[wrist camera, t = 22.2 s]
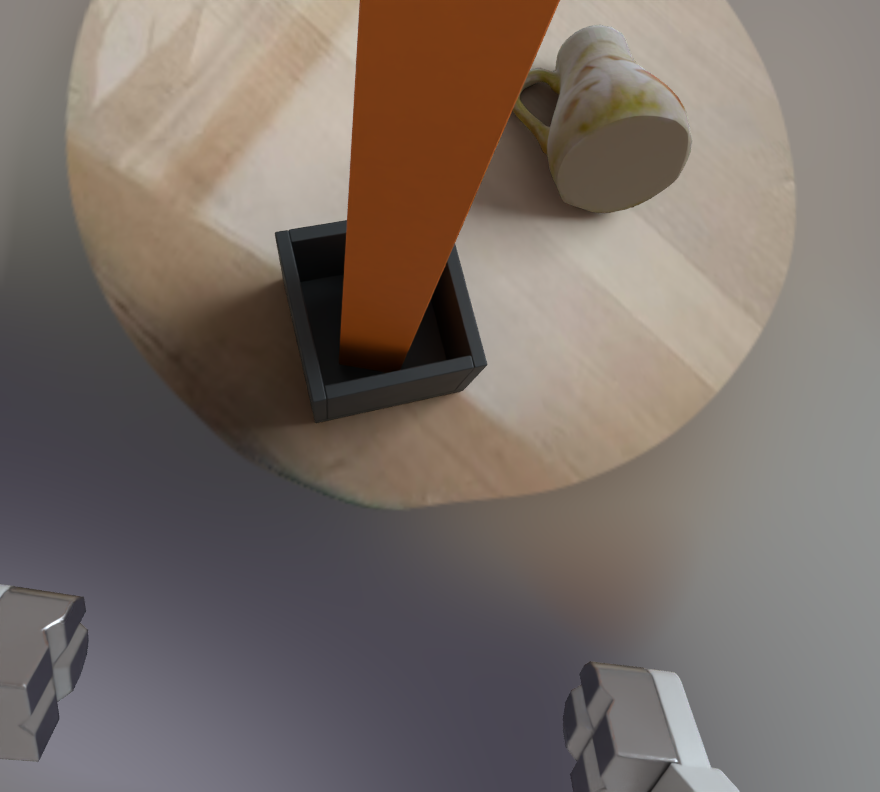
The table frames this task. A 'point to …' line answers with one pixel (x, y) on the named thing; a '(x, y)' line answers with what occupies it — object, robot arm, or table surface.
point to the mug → (608, 124)
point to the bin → (319, 326)
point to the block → (422, 152)
